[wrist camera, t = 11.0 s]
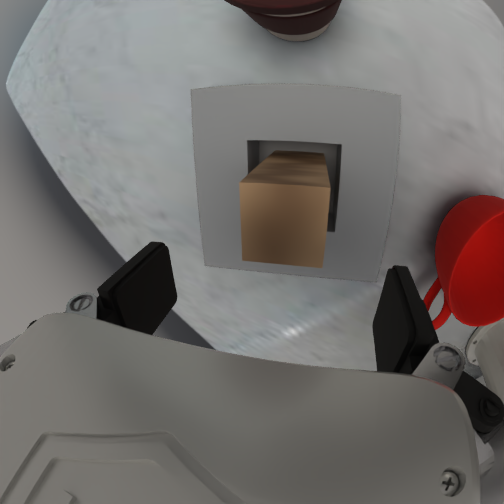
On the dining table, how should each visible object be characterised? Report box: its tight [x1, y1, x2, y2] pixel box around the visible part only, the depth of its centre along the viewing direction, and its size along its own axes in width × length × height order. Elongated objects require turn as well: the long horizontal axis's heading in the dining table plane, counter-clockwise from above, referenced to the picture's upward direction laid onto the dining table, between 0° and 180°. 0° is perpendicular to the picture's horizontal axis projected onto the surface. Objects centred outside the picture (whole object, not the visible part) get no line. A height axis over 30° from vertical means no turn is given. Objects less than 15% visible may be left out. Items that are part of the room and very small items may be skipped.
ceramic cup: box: [423, 195, 504, 330], centre depth 23 cm, size 13×17×10 cm
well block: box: [191, 84, 401, 282], centre depth 26 cm, size 18×18×6 cm
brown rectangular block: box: [239, 150, 330, 268], centre depth 22 cm, size 5×5×14 cm
